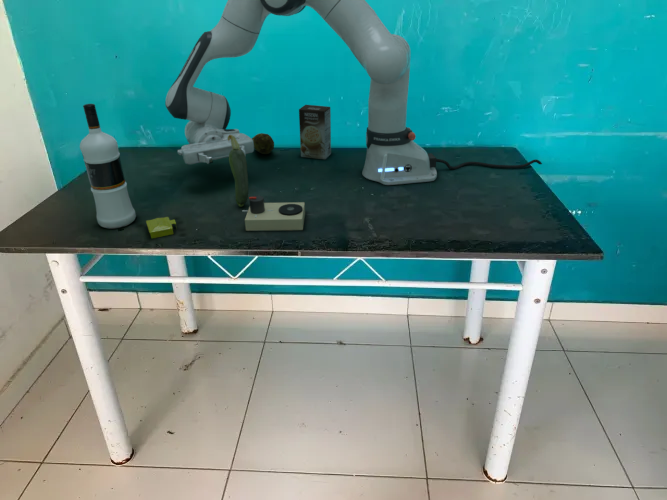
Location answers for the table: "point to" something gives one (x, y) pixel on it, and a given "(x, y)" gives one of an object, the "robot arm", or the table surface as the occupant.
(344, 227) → the table surface
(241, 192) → the vegetable
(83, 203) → the table surface
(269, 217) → the hot plate
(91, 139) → the vodka
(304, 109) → the coffee box
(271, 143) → the potato
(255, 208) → the hob knob
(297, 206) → the burner
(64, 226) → the table surface
